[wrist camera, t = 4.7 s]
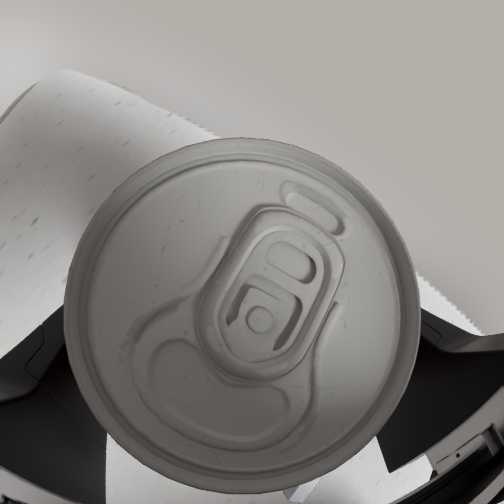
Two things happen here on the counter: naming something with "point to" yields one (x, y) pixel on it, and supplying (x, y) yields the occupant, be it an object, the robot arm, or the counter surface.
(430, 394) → the robot arm
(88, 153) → the counter surface
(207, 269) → the soda can
